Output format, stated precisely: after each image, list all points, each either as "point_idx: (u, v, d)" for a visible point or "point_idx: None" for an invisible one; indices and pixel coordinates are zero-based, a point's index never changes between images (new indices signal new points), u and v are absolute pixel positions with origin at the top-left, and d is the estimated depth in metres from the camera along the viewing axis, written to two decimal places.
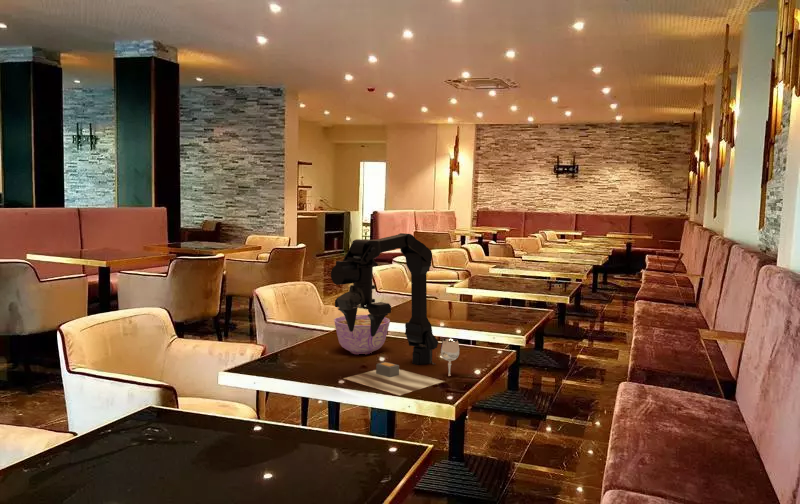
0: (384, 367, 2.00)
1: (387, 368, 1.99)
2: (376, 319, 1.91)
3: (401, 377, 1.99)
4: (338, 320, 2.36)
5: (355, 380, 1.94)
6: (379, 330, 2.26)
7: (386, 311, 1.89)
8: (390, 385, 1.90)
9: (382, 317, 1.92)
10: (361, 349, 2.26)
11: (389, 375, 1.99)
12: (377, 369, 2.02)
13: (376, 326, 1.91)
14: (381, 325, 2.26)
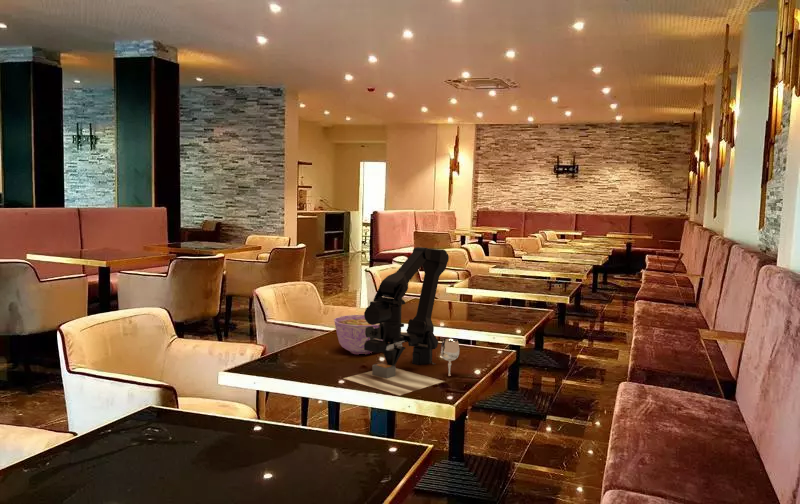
0: (380, 368, 1.99)
1: (383, 369, 1.98)
2: (388, 353, 2.01)
3: (401, 377, 1.99)
4: (338, 320, 2.36)
5: (355, 380, 1.94)
6: None
7: (371, 349, 1.95)
8: (390, 385, 1.90)
9: (391, 353, 2.00)
10: (361, 349, 2.26)
11: (386, 376, 1.97)
12: (373, 370, 2.01)
13: (389, 360, 2.02)
14: None
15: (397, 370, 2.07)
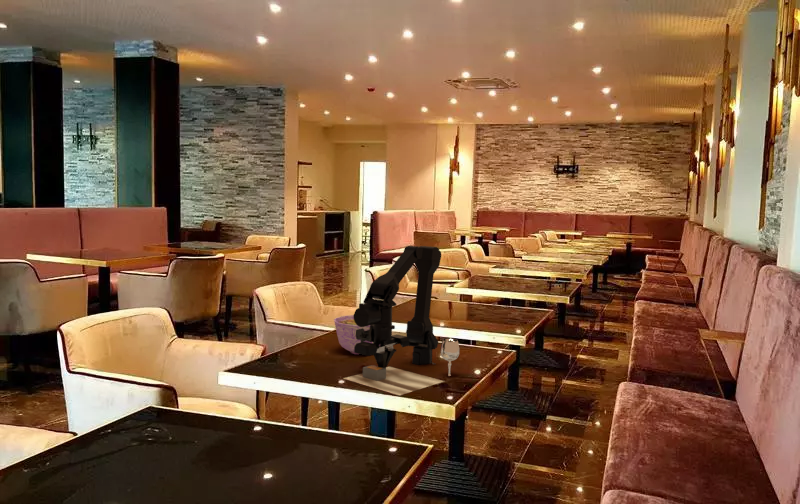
0: (371, 370, 1.96)
1: (374, 371, 1.95)
2: (379, 356, 1.98)
3: (401, 377, 1.99)
4: (338, 320, 2.36)
5: (355, 380, 1.94)
6: None
7: (361, 352, 1.92)
8: (390, 385, 1.90)
9: (382, 356, 1.97)
10: None
11: (376, 379, 1.95)
12: (364, 372, 1.98)
13: (380, 363, 1.99)
14: None
15: (397, 370, 2.07)
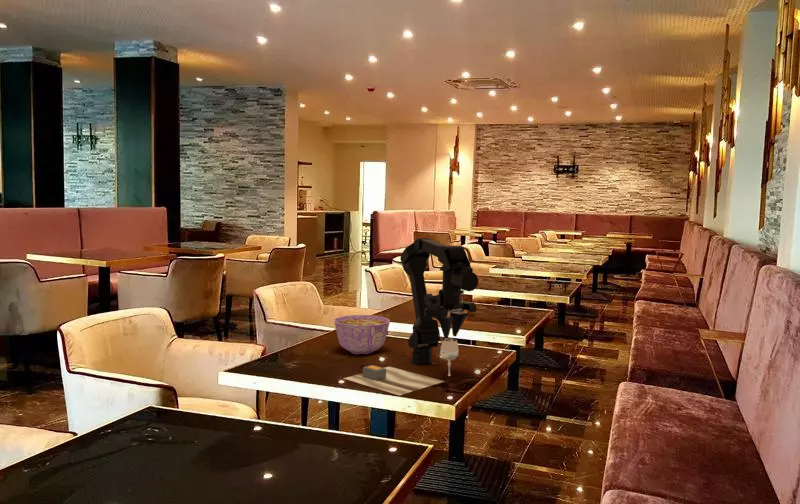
0: (371, 370, 1.96)
1: (374, 371, 1.95)
2: (444, 321, 1.98)
3: (401, 377, 1.99)
4: (338, 320, 2.36)
5: (355, 380, 1.94)
6: (379, 330, 2.26)
7: (433, 315, 1.93)
8: (390, 385, 1.90)
9: (447, 321, 1.96)
10: (361, 349, 2.26)
11: (376, 379, 1.95)
12: (364, 372, 1.98)
13: (444, 328, 1.98)
14: (381, 325, 2.26)
15: (397, 370, 2.07)
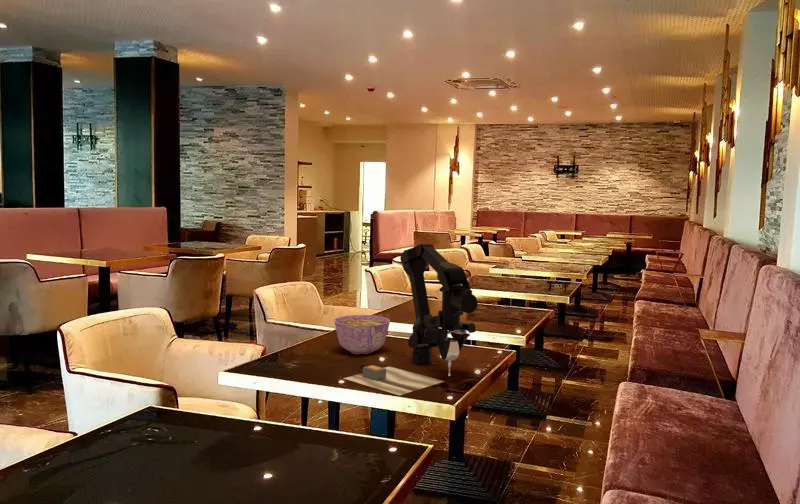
0: (371, 370, 1.96)
1: (374, 371, 1.95)
2: (442, 343, 1.98)
3: (401, 377, 1.99)
4: (338, 320, 2.36)
5: (355, 380, 1.94)
6: (379, 330, 2.26)
7: (432, 337, 1.94)
8: (390, 385, 1.90)
9: (445, 343, 1.96)
10: (361, 349, 2.26)
11: (376, 379, 1.95)
12: (364, 372, 1.98)
13: (442, 350, 1.98)
14: (381, 325, 2.26)
15: (397, 370, 2.07)
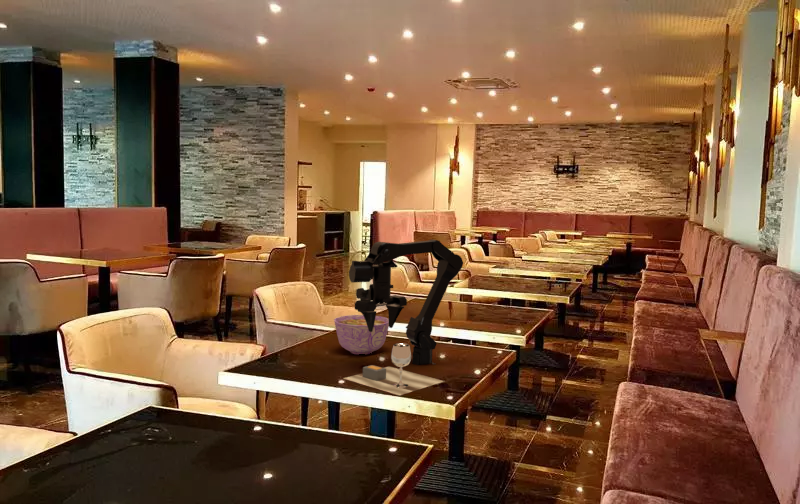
0: (371, 370, 1.96)
1: (374, 371, 1.95)
2: (368, 316, 2.05)
3: None
4: (338, 320, 2.36)
5: (355, 380, 1.94)
6: (379, 330, 2.26)
7: (361, 308, 2.02)
8: (390, 385, 1.90)
9: (371, 315, 2.03)
10: (361, 349, 2.26)
11: (376, 379, 1.95)
12: (364, 372, 1.98)
13: (369, 322, 2.05)
14: (381, 325, 2.26)
15: (397, 370, 2.07)
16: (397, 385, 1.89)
